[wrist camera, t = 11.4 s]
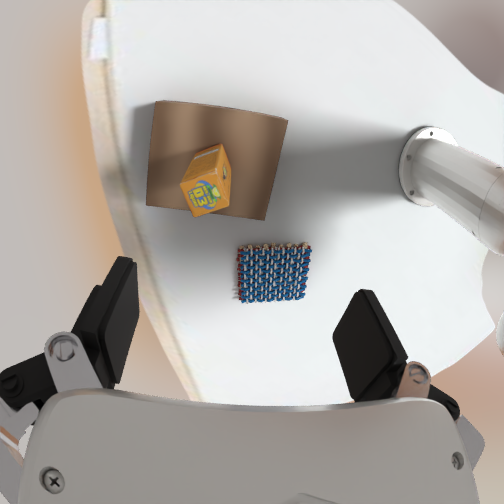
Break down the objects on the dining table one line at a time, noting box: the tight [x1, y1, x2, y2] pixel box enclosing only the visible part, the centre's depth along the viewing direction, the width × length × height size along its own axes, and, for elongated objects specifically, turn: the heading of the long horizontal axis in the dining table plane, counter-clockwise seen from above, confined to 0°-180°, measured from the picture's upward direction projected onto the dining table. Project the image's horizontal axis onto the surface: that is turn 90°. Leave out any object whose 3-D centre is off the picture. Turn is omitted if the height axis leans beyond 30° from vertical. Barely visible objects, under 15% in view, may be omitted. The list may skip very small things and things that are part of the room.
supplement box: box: [180, 144, 231, 217], centre depth 25 cm, size 3×3×10 cm
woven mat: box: [237, 243, 312, 304], centre depth 42 cm, size 10×11×2 cm
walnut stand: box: [146, 100, 288, 221], centre depth 31 cm, size 14×12×4 cm
